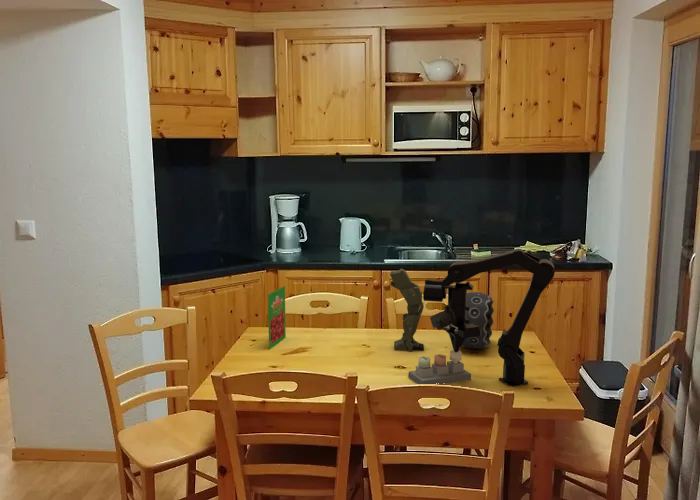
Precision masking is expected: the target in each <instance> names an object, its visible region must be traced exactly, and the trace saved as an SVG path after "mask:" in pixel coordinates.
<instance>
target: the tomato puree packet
mask: <svg viewBox="0 0 700 500" xmlns="http://www.w3.org/2000/svg"><path fill="white" fill-rule="evenodd" d="M267 304H268V305H267V313H268V350H271V349H273V348H274V347H276V345H279V344H280V342H282V341H283V340H285V339H286V338H287V337H286V336H287V335H286V286H285V285H283V286H282V287H280V288H278V289H276V290H274V291H273V292H270V293H269V294H267Z"/></svg>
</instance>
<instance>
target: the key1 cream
mask: <svg viewBox="0 0 700 500" xmlns="http://www.w3.org/2000/svg"><path fill="white" fill-rule="evenodd" d="M462 353H463V352H462V350H459V351H458V352H454V350H453V349H452V350H450V351H449V361H453V364H458V361H460V362H461V361H462V355H463V354H462Z"/></svg>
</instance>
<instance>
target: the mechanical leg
mask: <svg viewBox="0 0 700 500" xmlns="http://www.w3.org/2000/svg"><path fill="white" fill-rule="evenodd" d="M389 276H390V278H391V279H392V281H390V286H391V287H392V288H394V289H396V290H398V291H399V292H400V294H401V296H402V297H403V299H404V301H405V302H406V303H407V306H406V309H407V313H404V314H403V315H402V329H403V332H402V337H400V339H397V340H394V342H393V349H394V351H400V352H401V351H405V352H408V351H409V352H425V346H424V343H421V342H419V341H416V340H415V338H414V336H415V334H416V332H417V329H418V327H419V322H420V319H421V316H422V314H423V311H424V306H425V305H424V301H423V291H422V290H421V287H420V286H419V284H417V283H415V282H413V281H411V280H412V279H410V277H409V274H408V273H407V271H406V270H405V269H404V268H400V269H399V270H391V271H390V272H389Z"/></svg>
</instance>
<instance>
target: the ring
mask: <svg viewBox="0 0 700 500" xmlns="http://www.w3.org/2000/svg"><path fill="white" fill-rule="evenodd" d="M493 303H494V300H493V297H492V296H490V295H489V294H486V293H484V292H480V291H479V292H478V291H473V292H469V291H467V306H468V307H469V310H466V319H468V320H469V323H465V325H468V324H474V325H476V326H478V327H480V329H481V336H476V337H469V338H465V340H464V342H463V344H462V345H461V347H463V348H468V349H473V350H480V349H485V348H487V347H490V344H491V339H490V338H491V337H492V335H493V331H492V328H491V327H492V326H493V324H494V319H493V317H492V315H493V313H494V310H495V309H494V307H493Z"/></svg>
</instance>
